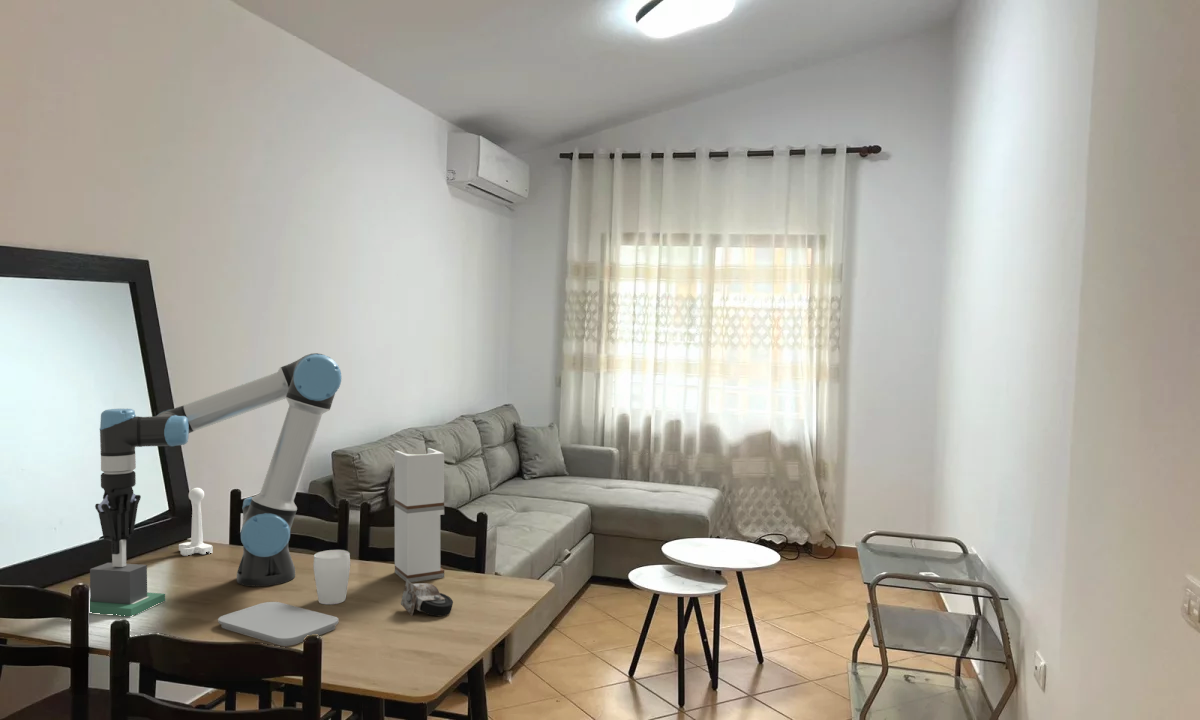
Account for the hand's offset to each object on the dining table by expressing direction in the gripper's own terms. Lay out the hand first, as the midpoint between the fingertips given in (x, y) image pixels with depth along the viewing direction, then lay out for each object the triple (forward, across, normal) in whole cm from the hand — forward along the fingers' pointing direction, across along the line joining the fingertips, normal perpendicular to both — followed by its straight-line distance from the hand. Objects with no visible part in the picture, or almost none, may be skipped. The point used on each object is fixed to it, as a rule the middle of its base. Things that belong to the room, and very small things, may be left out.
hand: (119, 565), depth 213 cm
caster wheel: (+11, -12, +76) cm, 78 cm away
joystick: (+11, -49, -15) cm, 52 cm away
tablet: (+11, +5, +46) cm, 48 cm away
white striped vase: (+10, -41, +62) cm, 75 cm away
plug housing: (+8, 0, 0) cm, 8 cm away
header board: (+10, 0, 0) cm, 10 cm away
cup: (+10, -15, +49) cm, 52 cm away
